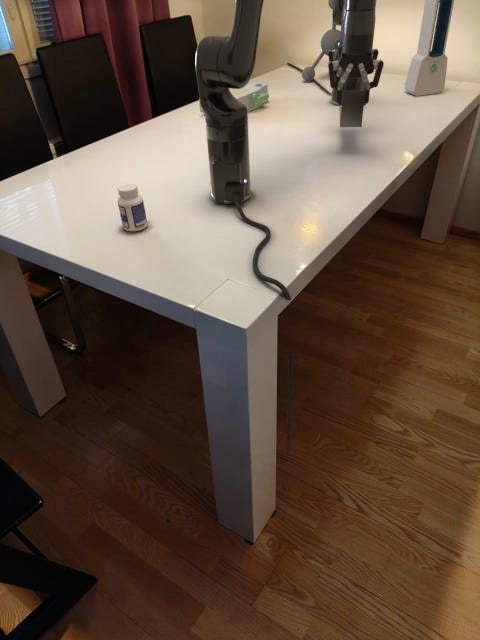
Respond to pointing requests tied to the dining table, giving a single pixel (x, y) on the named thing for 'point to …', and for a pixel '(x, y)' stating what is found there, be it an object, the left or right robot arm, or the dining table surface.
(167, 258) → the dining table surface
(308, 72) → the molecular model
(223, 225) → the dining table surface
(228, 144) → the left robot arm
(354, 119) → the bar
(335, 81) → the right robot arm
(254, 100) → the decorative block
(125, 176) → the dining table surface
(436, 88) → the electronic device
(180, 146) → the dining table surface
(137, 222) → the pill bottle
